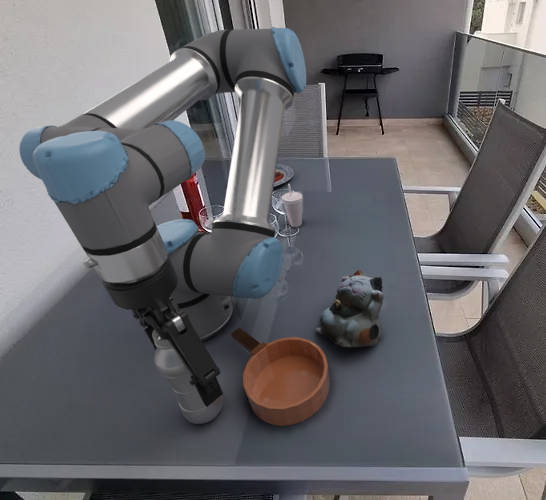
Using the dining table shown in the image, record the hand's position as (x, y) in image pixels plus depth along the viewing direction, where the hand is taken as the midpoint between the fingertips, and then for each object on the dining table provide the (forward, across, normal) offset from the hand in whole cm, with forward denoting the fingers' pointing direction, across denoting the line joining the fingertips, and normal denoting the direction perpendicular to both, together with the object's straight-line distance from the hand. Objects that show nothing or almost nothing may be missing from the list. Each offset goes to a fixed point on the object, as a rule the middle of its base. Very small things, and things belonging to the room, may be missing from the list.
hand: (189, 374), depth 54 cm
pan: (+10, +8, +12) cm, 17 cm away
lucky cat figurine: (+10, +8, +30) cm, 32 cm away
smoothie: (+10, -34, +53) cm, 64 cm away
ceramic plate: (+10, -71, +69) cm, 99 cm away
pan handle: (+8, -3, +12) cm, 14 cm away
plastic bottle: (+10, 0, 0) cm, 10 cm away
